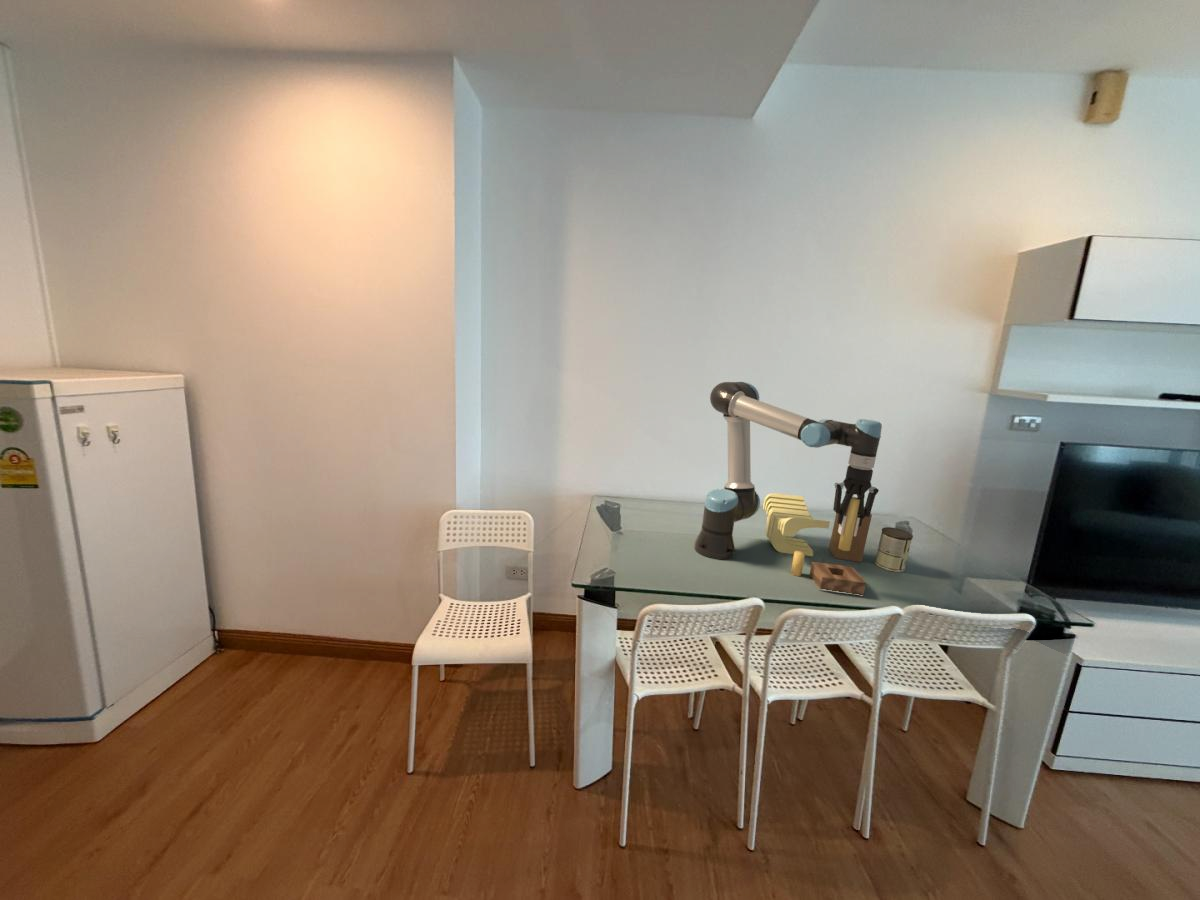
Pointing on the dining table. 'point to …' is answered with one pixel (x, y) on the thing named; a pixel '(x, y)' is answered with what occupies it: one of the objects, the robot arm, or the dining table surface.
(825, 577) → the hole block
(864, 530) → the wooden block
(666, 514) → the dining table surface
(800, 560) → the short pin
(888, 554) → the coffee can
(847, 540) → the long pin
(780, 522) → the slatted curved stool
